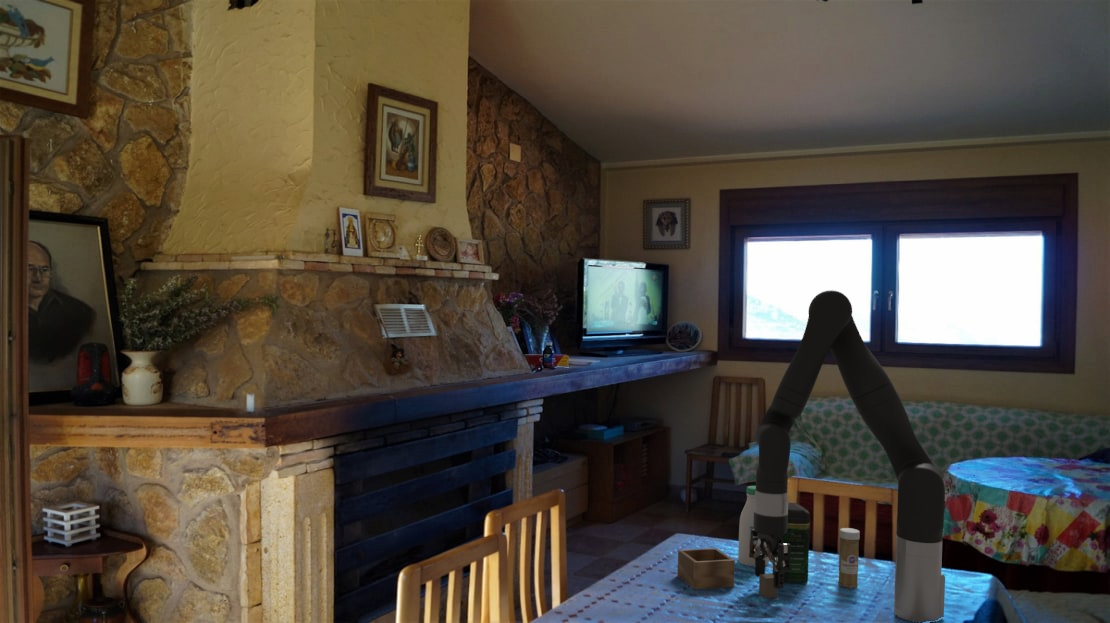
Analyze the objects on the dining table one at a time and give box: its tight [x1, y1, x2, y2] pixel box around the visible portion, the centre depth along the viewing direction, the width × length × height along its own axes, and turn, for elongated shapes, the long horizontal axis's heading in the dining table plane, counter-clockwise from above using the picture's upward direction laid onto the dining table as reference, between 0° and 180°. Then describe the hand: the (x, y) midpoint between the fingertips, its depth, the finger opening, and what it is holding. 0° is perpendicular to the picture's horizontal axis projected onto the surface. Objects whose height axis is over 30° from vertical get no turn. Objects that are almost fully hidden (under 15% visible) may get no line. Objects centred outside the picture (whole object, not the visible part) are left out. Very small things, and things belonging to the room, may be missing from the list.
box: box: [677, 547, 736, 590], centre depth 205 cm, size 10×10×7 cm
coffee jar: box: [772, 501, 811, 585], centre depth 210 cm, size 10×8×19 cm
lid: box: [758, 573, 802, 606], centre depth 196 cm, size 11×11×6 cm
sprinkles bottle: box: [837, 527, 861, 589], centre depth 207 cm, size 5×5×13 cm
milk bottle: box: [737, 485, 770, 567], centre depth 221 cm, size 8×8×20 cm
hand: (768, 581), depth 196 cm, fingers open, 8 cm apart
